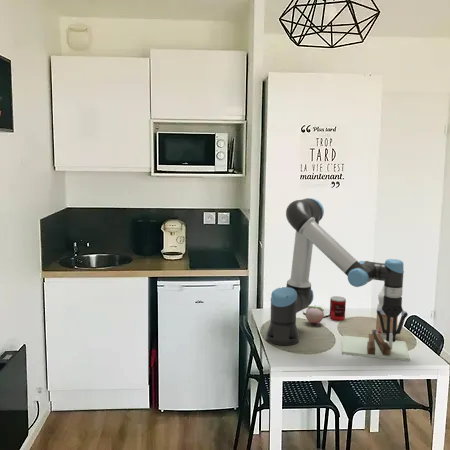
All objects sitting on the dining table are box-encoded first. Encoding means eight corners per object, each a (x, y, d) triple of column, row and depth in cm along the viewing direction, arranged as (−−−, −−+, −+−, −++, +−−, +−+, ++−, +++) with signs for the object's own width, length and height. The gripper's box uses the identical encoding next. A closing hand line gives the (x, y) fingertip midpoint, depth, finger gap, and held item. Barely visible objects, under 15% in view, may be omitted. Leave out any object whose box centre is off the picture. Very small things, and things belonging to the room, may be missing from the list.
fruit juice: (371, 334, 247) (374, 277, 243) (385, 331, 252) (389, 275, 248) (385, 341, 239) (389, 282, 235) (400, 338, 244) (404, 280, 239)
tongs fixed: (367, 354, 222) (368, 344, 221) (366, 337, 240) (366, 328, 240) (377, 355, 221) (378, 345, 220) (375, 338, 240) (375, 329, 239)
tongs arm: (383, 354, 220) (383, 348, 220) (375, 340, 237) (375, 333, 237) (390, 355, 220) (390, 348, 220) (381, 340, 237) (382, 334, 237)
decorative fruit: (304, 326, 258) (305, 307, 256) (304, 321, 266) (305, 302, 264) (324, 327, 256) (324, 308, 255) (323, 322, 264) (324, 303, 263)
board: (341, 353, 224) (342, 351, 224) (342, 337, 243) (342, 335, 243) (410, 360, 218) (410, 358, 218) (405, 343, 237) (405, 341, 237)
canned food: (334, 315, 275) (335, 295, 274) (347, 318, 270) (348, 298, 268) (326, 318, 270) (327, 298, 268) (339, 322, 264) (340, 301, 263)
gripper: (377, 297, 219) (375, 350, 222) (409, 299, 216) (406, 353, 219) (376, 292, 226) (374, 344, 230) (407, 294, 223) (404, 346, 227)
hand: (390, 348), depth 224 cm, fingers closed
